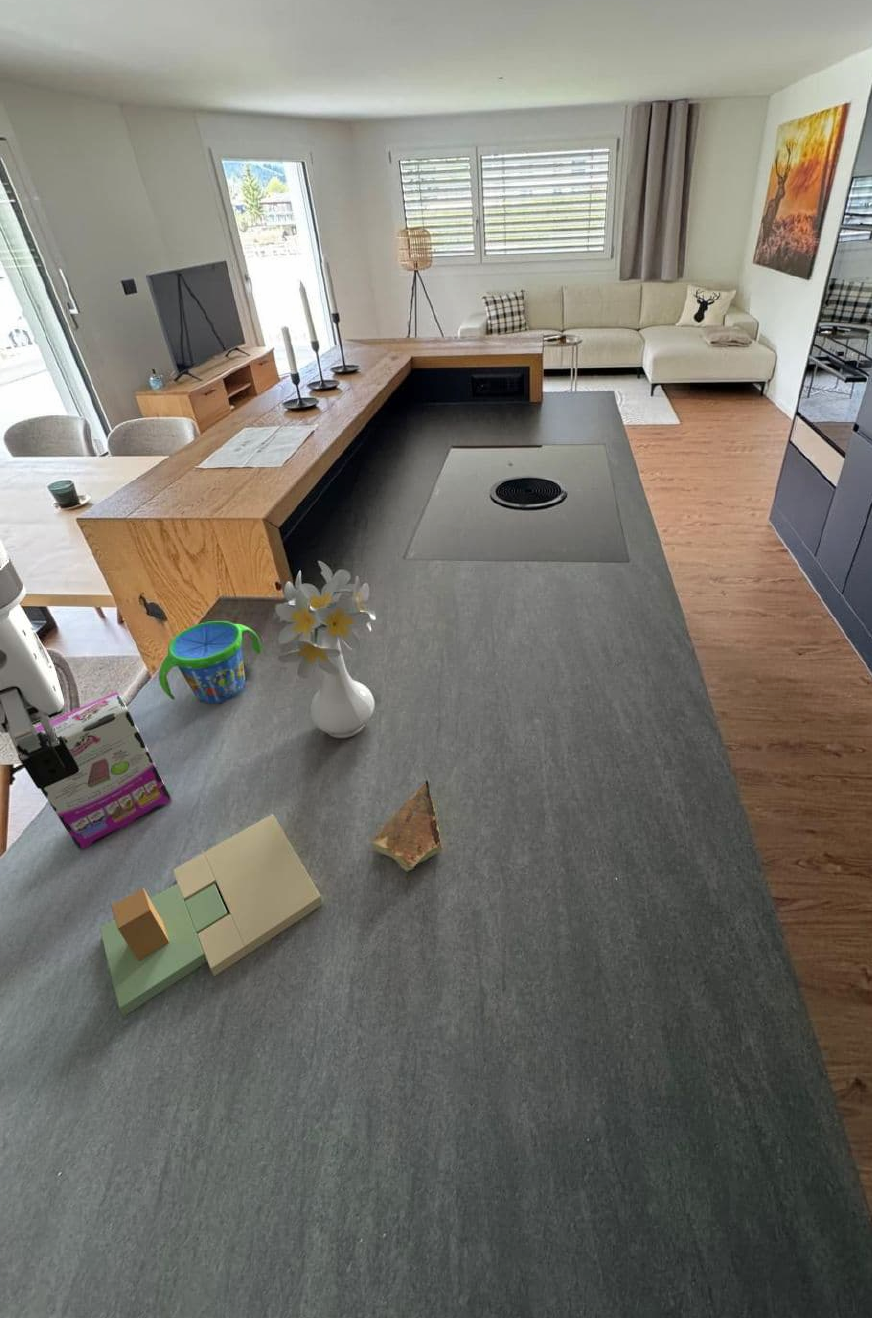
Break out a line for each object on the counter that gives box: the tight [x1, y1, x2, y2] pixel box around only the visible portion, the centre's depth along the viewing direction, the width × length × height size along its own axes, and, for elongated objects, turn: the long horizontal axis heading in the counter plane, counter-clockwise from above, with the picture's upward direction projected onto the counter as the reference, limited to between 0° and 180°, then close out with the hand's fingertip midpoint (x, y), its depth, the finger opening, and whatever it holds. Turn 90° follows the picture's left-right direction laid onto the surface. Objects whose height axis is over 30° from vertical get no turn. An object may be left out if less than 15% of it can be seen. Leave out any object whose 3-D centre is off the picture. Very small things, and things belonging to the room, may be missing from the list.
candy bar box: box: [34, 690, 172, 851], centre depth 76 cm, size 11×5×16 cm, turn 131°
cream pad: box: [172, 813, 324, 977], centre depth 70 cm, size 12×14×2 cm
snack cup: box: [158, 620, 262, 704], centre depth 98 cm, size 16×10×10 cm
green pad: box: [99, 883, 229, 1016], centre depth 65 cm, size 11×10×8 cm
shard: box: [372, 779, 444, 872], centre depth 76 cm, size 11×8×2 cm
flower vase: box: [272, 560, 377, 739], centre depth 86 cm, size 13×18×25 cm
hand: (51, 746), depth 58 cm, fingers open, 9 cm apart
